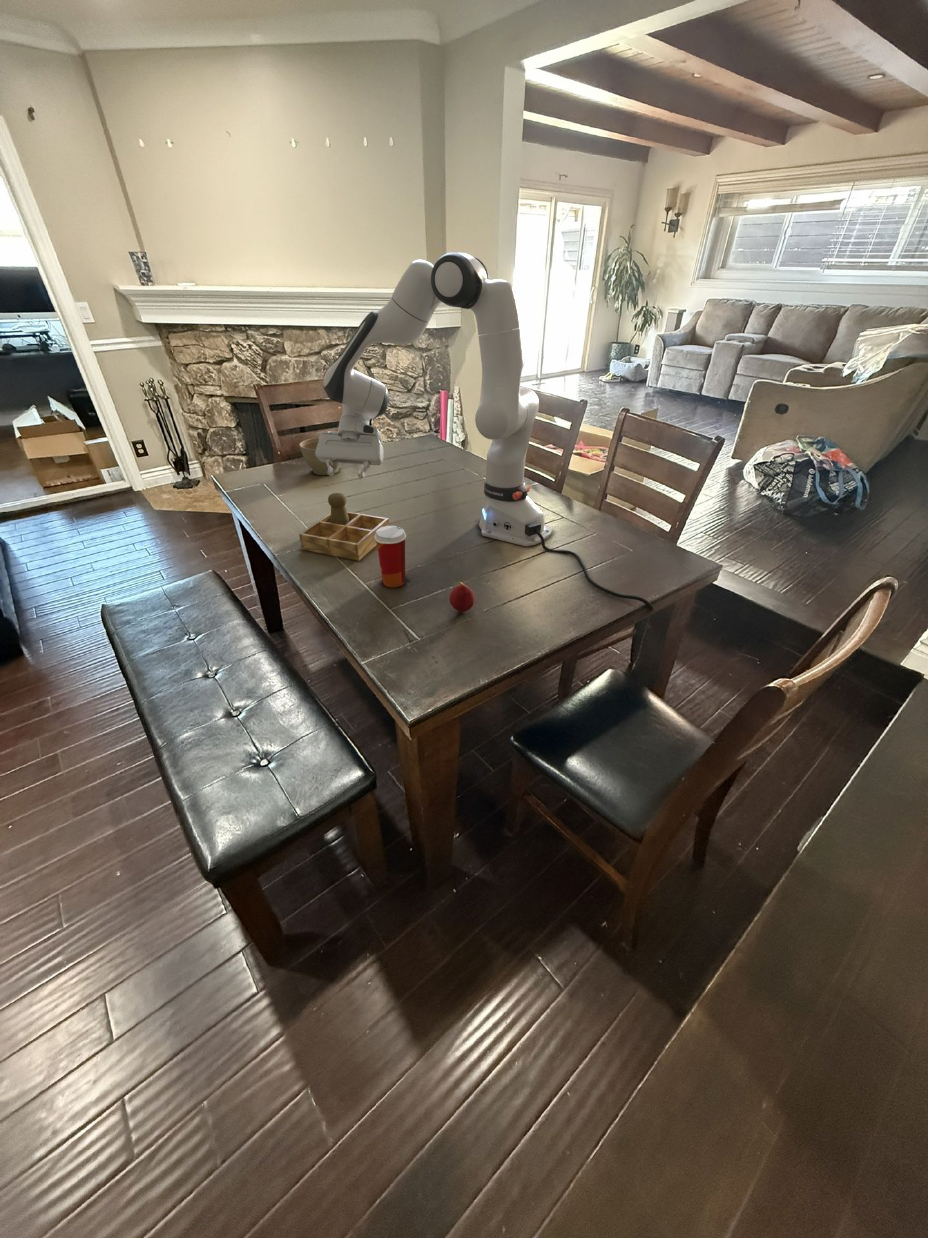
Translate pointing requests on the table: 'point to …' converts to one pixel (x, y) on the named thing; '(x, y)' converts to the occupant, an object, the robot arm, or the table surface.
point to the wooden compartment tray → (343, 536)
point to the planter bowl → (309, 455)
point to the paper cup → (391, 555)
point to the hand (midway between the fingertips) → (345, 475)
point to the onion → (462, 598)
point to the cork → (338, 509)
